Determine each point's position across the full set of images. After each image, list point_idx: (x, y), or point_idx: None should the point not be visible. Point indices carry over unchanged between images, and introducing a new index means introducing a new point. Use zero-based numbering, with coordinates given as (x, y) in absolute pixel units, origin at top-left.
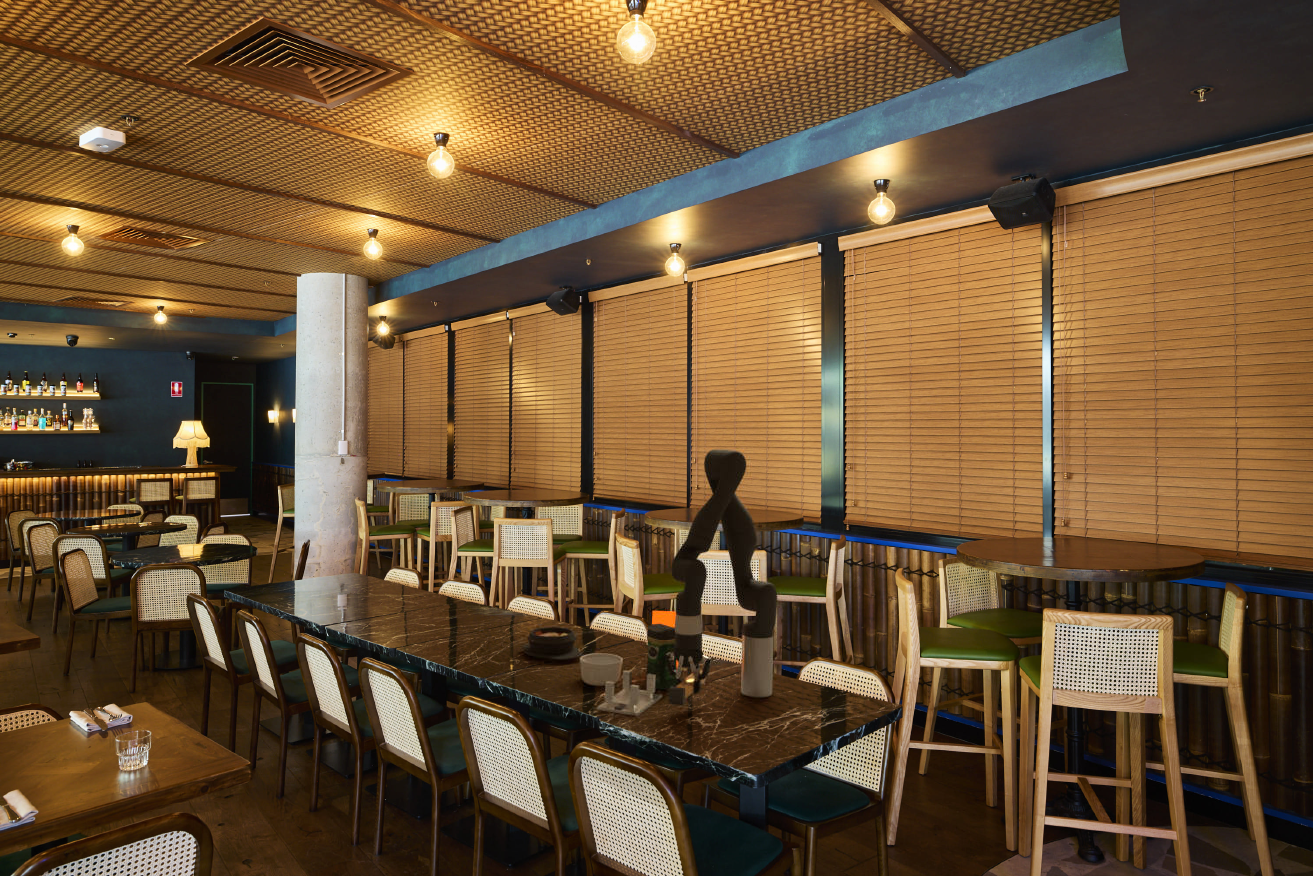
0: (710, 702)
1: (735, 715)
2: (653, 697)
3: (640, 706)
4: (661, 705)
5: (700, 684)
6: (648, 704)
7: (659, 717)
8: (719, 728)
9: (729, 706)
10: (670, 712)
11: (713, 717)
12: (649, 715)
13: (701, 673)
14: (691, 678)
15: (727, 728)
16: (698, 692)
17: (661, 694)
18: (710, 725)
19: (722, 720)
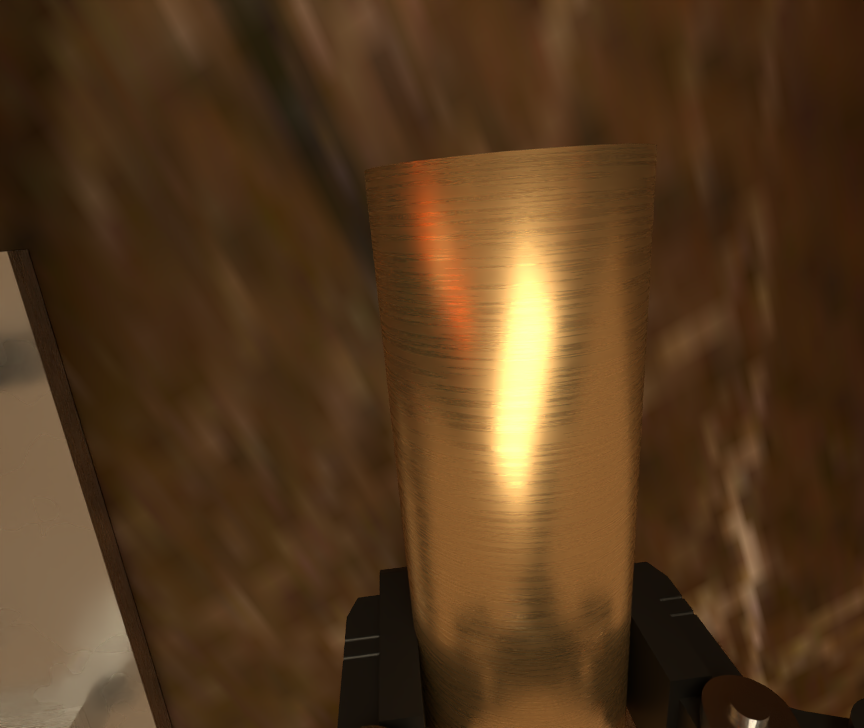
0: (553, 133)
1: (843, 361)
2: (6, 395)
3: (88, 662)
4: (185, 467)
5: (704, 638)
6: (110, 588)
7: (333, 694)
8: (779, 647)
9: (756, 156)
10: (349, 570)
11: (692, 492)
12: (246, 700)
13: (633, 289)
14: (582, 704)
15: (828, 621)
16: None
17: (3, 252)
18: (713, 635)
19: (768, 512)
